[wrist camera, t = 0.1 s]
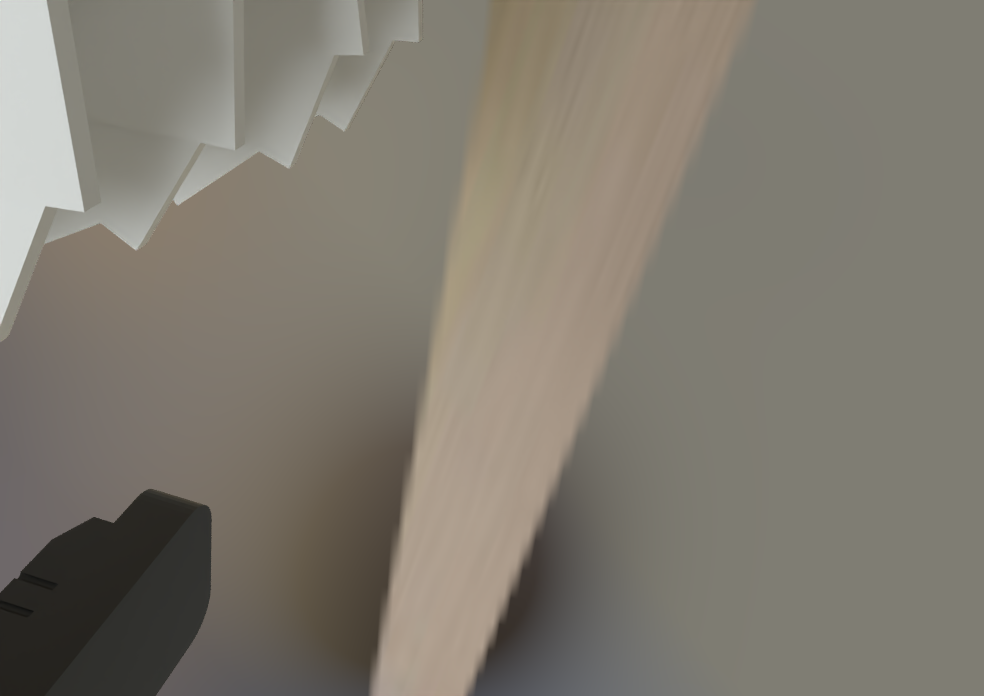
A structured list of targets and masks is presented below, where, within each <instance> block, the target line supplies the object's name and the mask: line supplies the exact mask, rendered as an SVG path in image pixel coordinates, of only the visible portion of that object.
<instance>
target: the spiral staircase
mask: <svg viewBox="0 0 984 696" xmlns="http://www.w3.org/2000/svg"><path fill="white" fill-rule="evenodd" d="M422 40H423V0H0V342H1V341H2V340H3V339H5V338H6V337H8V336H9V334H10V331H11V328H12V326H13V323H14V321H15V318H16V315H17V312H18V310H19V308H20V305H21V302H22V300H23V297H24V295H25V292H26V289H27V287H28V284H29V282H30V279H31V277H32V274H33V271H34V269H35V266H36V264H37V261H38V258H39V256H40V253H41V251H42V248H43V245H44V244H45V243H48V242H51V241H53V240H56V239H59V238H61V237H64V236H67V235H70V234H72V233H75V232H78V231H80V230H83V229H86V228H89V227H91V226H94V225H97V224H100V223H101V224H103V225H104V226H105V227H106V228H108V229H109V230H110V231H112V232H113V233H114V234H115V235H117V236H118V237H119V238H121V239H122V240H123V241H124V242H126V243H127V244H128V245H130V246H131V247H132V248H133V249H135V250H136V251H137V250H138V249H140V248H141V247H142V246H144V245H145V244H147V242H148V241H149V239H150V237H151V236H152V234H153V232H154V230H155V229H156V227H157V225H158V224H159V222H160V220H161V219H162V217H163V215H164V214H165V212H166V210H167V209H168V207H169V205H170V203H171V202H172V200H173V201H174V202H175V203H176V204H177V205H179V204H180V203H182V202H183V201H185V200H187V199H188V198H190V197H191V196H193V195H194V194H196V193H197V192H199V191H200V190H202V189H203V188H205V187H206V186H208V185H209V184H211V183H212V182H214V181H215V180H217V179H218V178H220V177H221V176H223V175H224V174H226V173H227V172H229V171H230V170H232V169H233V168H235V167H236V166H238V165H239V164H241V163H242V162H244V161H245V160H247V159H248V158H250V157H252V156H253V155H255V154H256V153H258V152H261V153H263V154H265V155H266V156H268V157H270V158H271V159H273V160H275V161H276V162H278V163H280V164H282V165H283V166H285V167H287V168H289V169H290V168H291V167H292V166H294V165H295V164H296V162H297V159H298V157H299V154H300V152H301V150H302V147H303V145H304V142H305V140H306V137H307V135H308V132H309V130H310V127H311V124H312V122H313V119H314V118H315V117H317V116H319V115H320V116H322V117H324V118H325V119H326V120H328V121H329V122H331V123H332V124H334V125H335V126H337V127H338V128H340V129H341V130H342V131H344V132H345V131H346V130H347V129H349V127H350V126H351V124H352V122H353V120H354V118H355V116H356V114H357V113H358V111H359V109H360V107H361V105H362V103H363V101H364V99H365V97H366V95H367V94H368V92H369V90H370V88H371V86H372V84H373V82H374V81H375V79H376V77H377V75H378V73H379V71H380V69H381V68H382V66H383V64H384V62H385V60H386V58H387V56H388V54H389V52H390V51H391V49H392V47H393V45H394V43H395V41H407V42H418V43H419V42H420V41H422Z"/></svg>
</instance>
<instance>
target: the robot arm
mask: <svg viewBox="0 0 984 696" xmlns="http://www.w3.org/2000/svg"><path fill="white" fill-rule="evenodd" d="M211 522H212V519H211V511H210V509H209V507H208V506H206V505H203V504H200V503H196V502H193V501H190V500H187V499H183V498H180V497H177V496H173V495H170V494H167V493H164V492H161V491H157V490H154V489H148V490H146V491H144V492H143V493H141V494H140V495H139V496H138V497H137V498H136V499H135V500H134V501H133V503H132V504H131V505H130V506H129V507H128V508H127V509H126V510H125V511H124V512H123V514H122V515H121V516H120V517H119V518H118V519H117V520H116V521H115V522H114V523H111V522H108V521H105V520H102V519H99V518H96V517H93V518H91V519H89V520H88V521H86V522H84V523H82V524H80V525H78V526H77V527H75V528H73V529H71V530H69V531H67V532H65V533H63V534H62V535H60V536H58V537H56V538H54V539H52V540H51V541H50V542H49V543H48V544H47V545H46V546H45V547H44V548H43V549H42V550H41V552H40V553H39V554H37V556H36V557H35V558H34V559H33V560H32V561H31V562H30V563H29V564H28V565H27V566H26V567H25V568H24V569H23V570H22V571H21V574H20V576H19V578H18V579H15V578H14V579H13V580H12V581H11V582H10V583H9V585H7V586H6V587H5V589H4V590H3V591H2V592H1V593H0V696H156V694H157V693H158V692H159V690H160V689H161V687H162V686H163V684H164V683H165V681H166V680H167V678H168V677H169V676H170V674H171V673H172V671H173V670H174V668H175V667H176V665H177V664H178V662H179V661H180V659H181V658H182V656H183V655H184V653H185V652H186V650H187V649H188V648H189V646H190V644H191V643H192V641H193V640H194V638H195V636H196V635H197V633H198V631H199V629H200V627H201V624H202V622H203V619H204V616H205V614H206V611H207V607H208V603H209V599H210V590H211Z"/></svg>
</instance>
